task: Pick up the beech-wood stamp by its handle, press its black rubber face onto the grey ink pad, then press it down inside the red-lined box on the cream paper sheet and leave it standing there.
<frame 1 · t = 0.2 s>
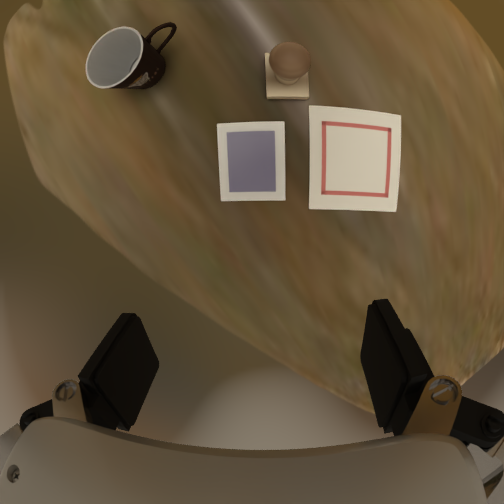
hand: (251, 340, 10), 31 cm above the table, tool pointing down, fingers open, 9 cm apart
coffee mug: (155, 67, 32), on the table
paper sheet: (357, 159, 35), on the table
ink pad: (252, 160, 37), on the table
stamp: (286, 78, 31), on the table
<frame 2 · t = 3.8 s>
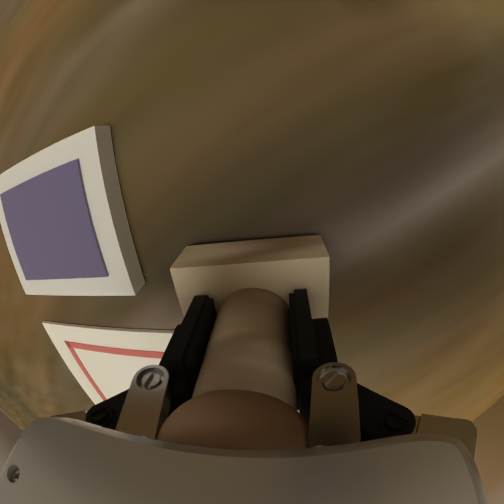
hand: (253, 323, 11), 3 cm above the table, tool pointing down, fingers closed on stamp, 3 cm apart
paper sheet: (137, 389, 20), on the table
ink pad: (58, 221, 14), on the table
stamp: (258, 284, 14), on the table, touching gripper
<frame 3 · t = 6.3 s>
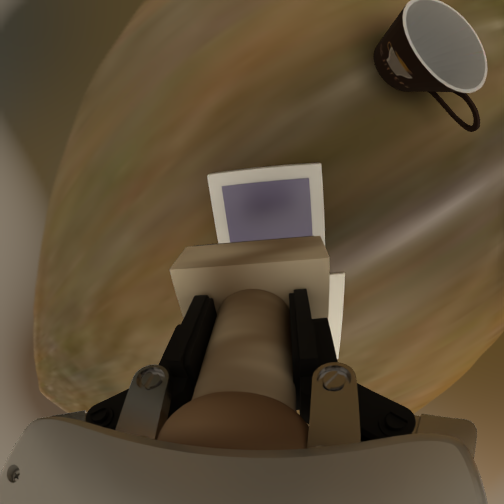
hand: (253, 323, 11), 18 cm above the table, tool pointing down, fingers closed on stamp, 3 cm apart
coffee mug: (402, 77, 21), on the table
paper sheet: (283, 325, 34), on the table
ink pad: (268, 209, 28), on the table
stamp: (258, 285, 14), point 15 cm above the table, touching gripper
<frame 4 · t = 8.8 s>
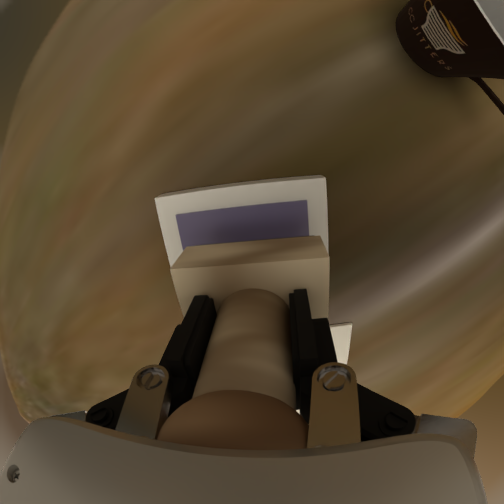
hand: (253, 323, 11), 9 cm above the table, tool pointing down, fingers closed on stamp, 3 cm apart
coffee mug: (433, 57, 13), on the table
paper sheet: (271, 381, 25), on the table
ink pad: (247, 245, 19), on the table
stamp: (258, 284, 14), point 6 cm above the table, touching gripper
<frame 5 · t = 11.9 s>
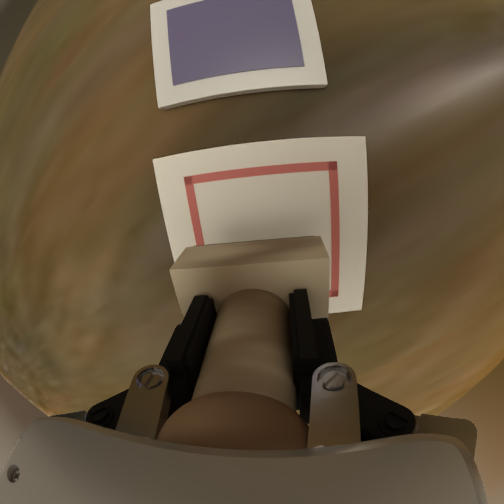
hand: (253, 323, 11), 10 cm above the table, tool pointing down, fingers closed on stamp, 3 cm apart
paper sheet: (267, 238, 20), on the table
ink pad: (234, 38, 14), on the table
stamp: (258, 285, 14), point 6 cm above the table, touching gripper
when the fingers open (4 cm above the table, at t = 14.3 s): stamp stays where it is, resting on paper sheet.
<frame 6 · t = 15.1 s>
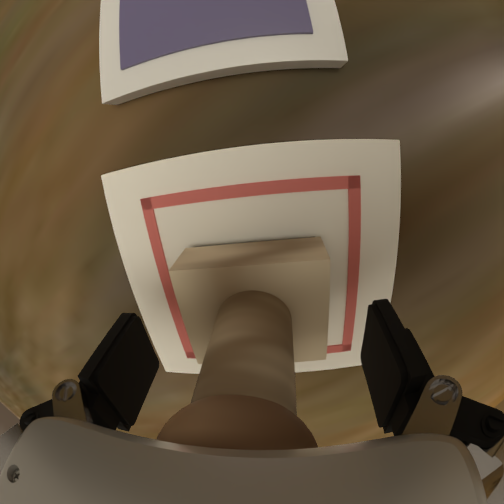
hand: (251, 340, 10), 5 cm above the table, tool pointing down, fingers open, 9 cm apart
paper sheet: (258, 282, 14), on the table
ink pad: (211, 3, 9), on the table
stamp: (258, 286, 14), resting on paper sheet
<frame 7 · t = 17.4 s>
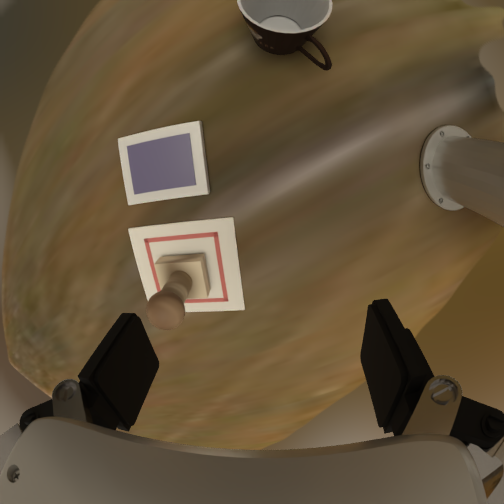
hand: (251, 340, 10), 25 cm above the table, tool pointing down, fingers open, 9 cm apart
coffee mug: (280, 43, 25), on the table
paper sheet: (186, 269, 38), on the table
ink pad: (164, 163, 32), on the table
stamp: (186, 271, 37), resting on paper sheet
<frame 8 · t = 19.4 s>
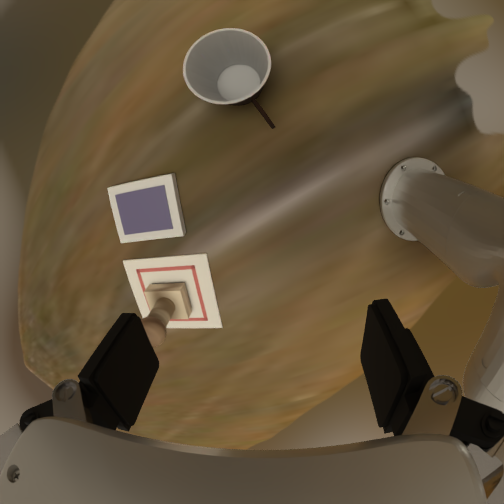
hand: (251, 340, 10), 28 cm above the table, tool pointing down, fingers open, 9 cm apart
coffee mug: (240, 93, 31), on the table
paper sheet: (172, 294, 44), on the table
ink pad: (147, 208, 38), on the table
stamp: (171, 295, 44), resting on paper sheet
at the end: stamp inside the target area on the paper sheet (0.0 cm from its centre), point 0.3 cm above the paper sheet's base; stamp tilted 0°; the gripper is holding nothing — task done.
